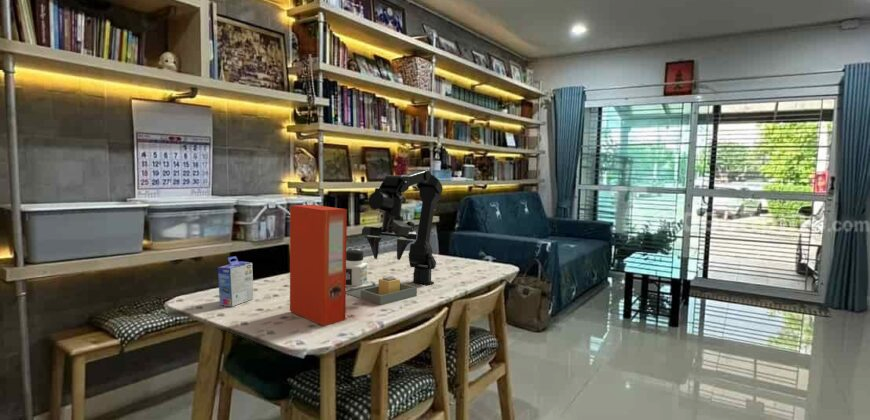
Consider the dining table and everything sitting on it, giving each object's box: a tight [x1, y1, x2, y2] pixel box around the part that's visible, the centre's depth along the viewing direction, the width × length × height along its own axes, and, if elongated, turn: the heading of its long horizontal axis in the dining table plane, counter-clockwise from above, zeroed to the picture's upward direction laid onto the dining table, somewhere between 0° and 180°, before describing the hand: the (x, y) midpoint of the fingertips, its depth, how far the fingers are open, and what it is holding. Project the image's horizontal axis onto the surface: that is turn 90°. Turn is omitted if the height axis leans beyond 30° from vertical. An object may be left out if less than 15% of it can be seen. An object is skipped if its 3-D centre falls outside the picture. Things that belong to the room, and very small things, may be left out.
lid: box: [346, 282, 379, 299], centre depth 163 cm, size 16×10×2 cm, turn 137°
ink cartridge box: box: [217, 255, 254, 308], centre depth 148 cm, size 10×6×14 cm, turn 161°
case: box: [360, 282, 418, 306], centre depth 156 cm, size 16×11×4 cm, turn 137°
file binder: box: [289, 204, 348, 326], centre depth 136 cm, size 8×17×32 cm, turn 46°
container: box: [346, 248, 368, 288], centre depth 174 cm, size 8×8×13 cm
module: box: [378, 276, 401, 295], centre depth 156 cm, size 5×5×6 cm
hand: (387, 259), depth 155 cm, fingers open, 9 cm apart
